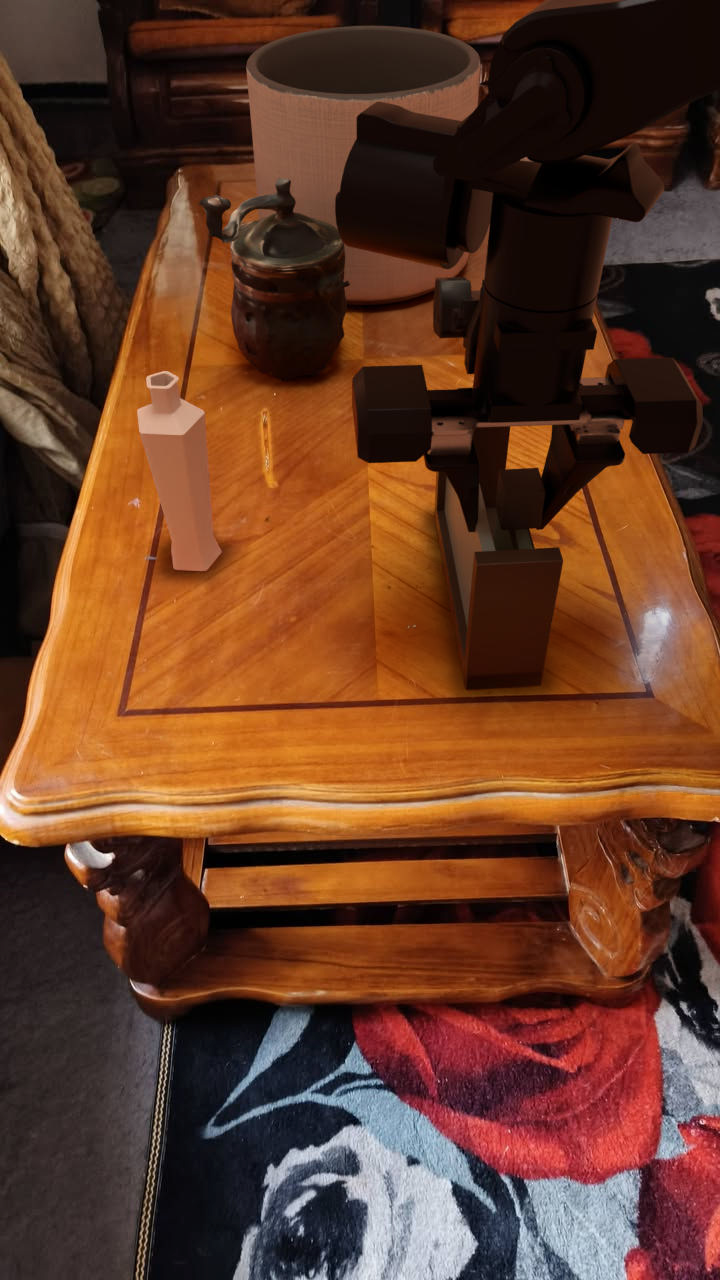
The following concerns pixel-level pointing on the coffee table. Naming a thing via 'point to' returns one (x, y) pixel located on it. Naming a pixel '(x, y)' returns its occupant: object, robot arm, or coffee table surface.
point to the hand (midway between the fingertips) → (504, 526)
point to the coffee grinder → (283, 283)
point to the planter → (351, 125)
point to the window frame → (494, 582)
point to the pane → (518, 508)
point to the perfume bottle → (180, 471)
